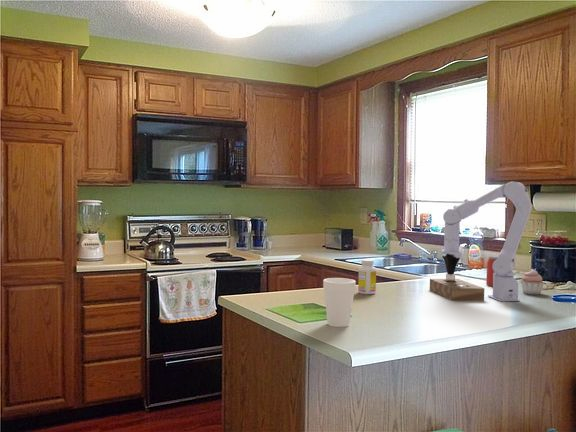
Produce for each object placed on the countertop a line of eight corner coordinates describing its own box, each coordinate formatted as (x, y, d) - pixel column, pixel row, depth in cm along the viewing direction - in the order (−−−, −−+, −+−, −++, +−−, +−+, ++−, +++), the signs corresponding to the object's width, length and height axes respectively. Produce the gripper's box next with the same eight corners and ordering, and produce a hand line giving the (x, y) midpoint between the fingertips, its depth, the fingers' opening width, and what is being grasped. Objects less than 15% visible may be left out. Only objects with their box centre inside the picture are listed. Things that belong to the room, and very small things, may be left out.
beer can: (504, 287, 237) (506, 259, 236) (489, 286, 237) (490, 258, 236) (499, 284, 243) (500, 257, 243) (484, 284, 243) (485, 256, 243)
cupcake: (521, 290, 229) (522, 266, 229) (546, 293, 224) (547, 268, 224) (516, 293, 222) (517, 268, 221) (541, 296, 217) (542, 271, 216)
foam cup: (352, 320, 169) (353, 278, 169) (356, 328, 160) (358, 283, 159) (320, 320, 169) (321, 277, 168) (323, 328, 160) (325, 282, 159)
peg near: (467, 297, 210) (468, 286, 210) (459, 297, 209) (459, 286, 209) (463, 295, 213) (464, 284, 213) (455, 295, 213) (455, 284, 213)
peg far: (456, 284, 220) (456, 274, 219) (447, 284, 219) (448, 274, 219) (452, 283, 223) (452, 273, 223) (444, 283, 222) (444, 273, 222)
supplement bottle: (375, 291, 219) (375, 259, 219) (376, 295, 213) (376, 261, 212) (357, 291, 220) (358, 258, 219) (358, 294, 213) (359, 260, 213)
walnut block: (484, 300, 206) (484, 288, 206) (453, 300, 204) (453, 288, 204) (457, 289, 228) (457, 278, 228) (429, 289, 226) (429, 278, 226)
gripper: (434, 238, 227) (433, 271, 227) (450, 241, 212) (448, 276, 213) (451, 238, 228) (449, 271, 228) (467, 241, 213) (466, 276, 214)
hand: (450, 274), depth 221 cm, fingers closed, pressing on peg far
